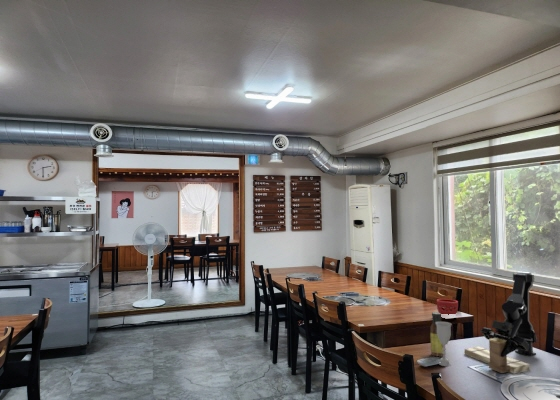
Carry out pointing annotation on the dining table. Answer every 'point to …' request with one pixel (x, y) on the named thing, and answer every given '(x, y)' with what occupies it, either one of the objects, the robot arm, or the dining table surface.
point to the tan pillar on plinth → (498, 356)
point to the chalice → (444, 339)
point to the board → (484, 356)
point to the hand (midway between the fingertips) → (495, 354)
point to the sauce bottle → (435, 336)
